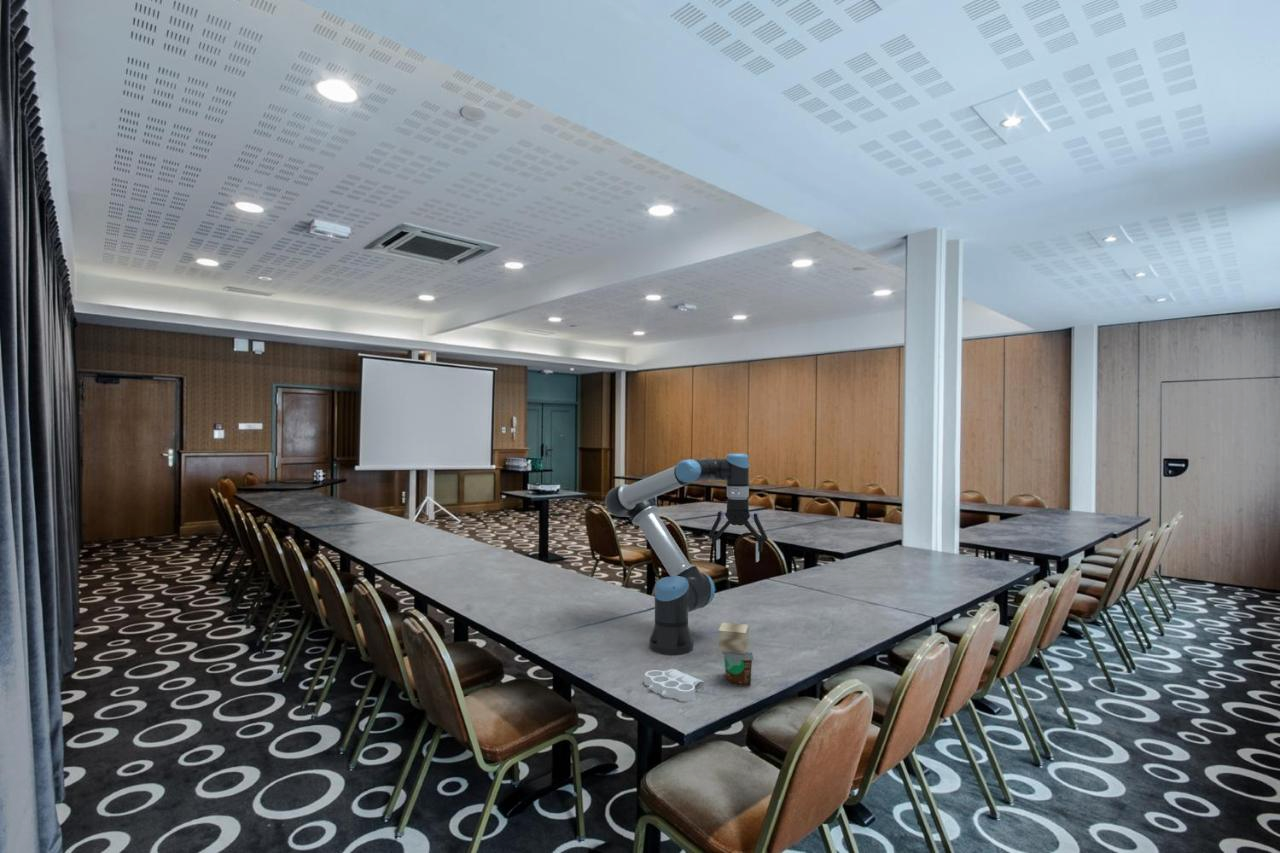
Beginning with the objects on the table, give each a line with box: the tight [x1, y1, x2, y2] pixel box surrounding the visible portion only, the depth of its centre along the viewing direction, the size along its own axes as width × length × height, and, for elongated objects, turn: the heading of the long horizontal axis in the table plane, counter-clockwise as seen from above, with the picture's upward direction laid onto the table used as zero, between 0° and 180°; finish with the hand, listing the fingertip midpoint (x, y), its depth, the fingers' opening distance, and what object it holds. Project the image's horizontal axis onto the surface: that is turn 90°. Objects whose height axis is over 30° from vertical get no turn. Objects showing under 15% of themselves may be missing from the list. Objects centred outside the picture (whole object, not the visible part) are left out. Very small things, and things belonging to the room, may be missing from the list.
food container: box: [721, 651, 754, 687], centre depth 183 cm, size 12×6×10 cm, turn 20°
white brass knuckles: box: [644, 668, 706, 702], centre depth 176 cm, size 3×18×15 cm
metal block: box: [717, 622, 749, 654], centre depth 182 cm, size 8×8×6 cm
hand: (737, 559), depth 210 cm, fingers open, 13 cm apart
